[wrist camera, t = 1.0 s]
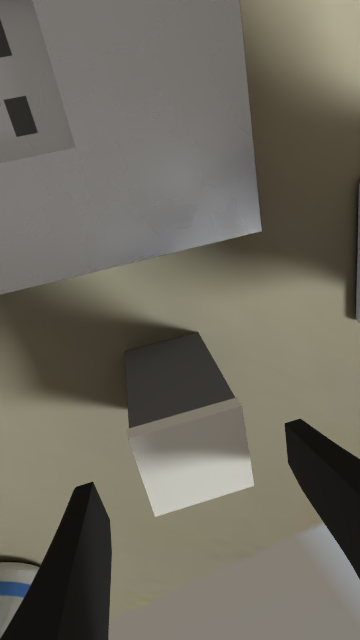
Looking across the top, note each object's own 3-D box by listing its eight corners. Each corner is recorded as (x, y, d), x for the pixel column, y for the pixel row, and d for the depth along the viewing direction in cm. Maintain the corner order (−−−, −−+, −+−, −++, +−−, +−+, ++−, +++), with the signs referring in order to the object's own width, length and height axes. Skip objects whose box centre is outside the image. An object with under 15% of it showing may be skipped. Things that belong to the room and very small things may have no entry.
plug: (198, 330, 17) (241, 405, 12) (211, 392, 19) (253, 485, 13) (123, 351, 17) (127, 438, 11) (142, 412, 19) (155, 516, 13)
